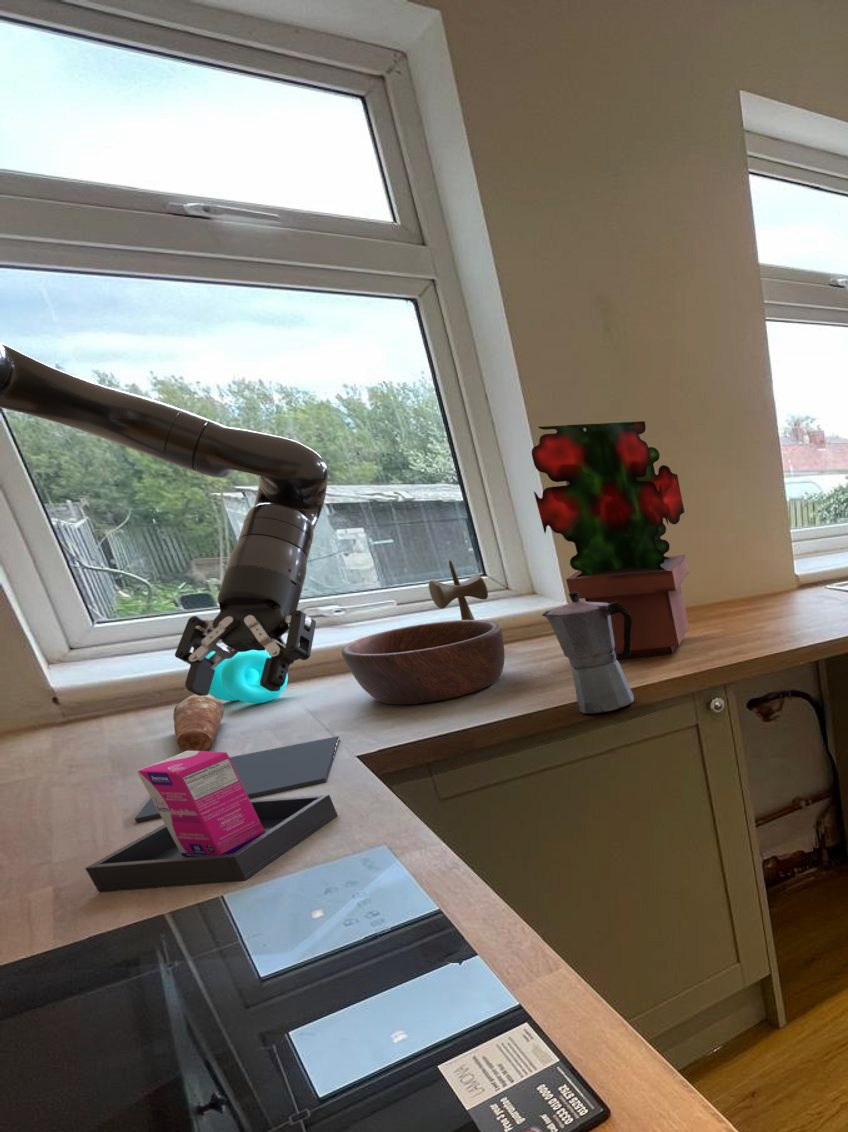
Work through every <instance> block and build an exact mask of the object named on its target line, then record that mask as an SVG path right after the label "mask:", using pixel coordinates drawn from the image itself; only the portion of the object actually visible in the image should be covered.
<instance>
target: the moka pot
mask: <svg viewBox="0 0 848 1132" xmlns="http://www.w3.org/2000/svg"><path fill="white" fill-rule="evenodd" d="M568 596H569V599H570V600H571V602H569V603H567V604H564V605H561V606H558V607H553V608H550V609H548V610H545V611H544V612H543V613H542V614H541V615H542V617H545V618H546V619H547V620H548V622H549V624H550V627H551V628H552V630H553V633H554V635H555V637H556V639H557V641H558V644H559V646H560V648H561V650H562V652H563V654H564V657H566V658H567V659H568V661H569V663H570V664H569V665H570V667H572V679H573V684H574V690H575V695H576V703H577V707H578V711H579V712H580V713H582V714H586V715H587V714H588V715H592V714H602V713H607V712H612V711H616V710H618V709H621V708H624V707H626V706H628V705H631V704H633V702H634V701H635V696H634V694H633V691H632V689H631V686H630V685H629V683H628V680H627V678H626V676H625V674H624V671H623V669H622V666H621V664H620V661H619V660H617V659H616V657H618V658H619V659H624V658H623V657H627V656H630V646H631V644H630V641H631V629H632V627H631V626H632V620H631V614H630V613H629V612H627V610H626V609H625V608H623V607H621V605H620V604H618V602H613V603H611V604H608V603H602V602H586V601H583V600H581V599H579V592H571V593H569V592H568ZM616 613H621V614H622V615H623V616H624V642H625V643H624V647H623V650H624V651H623V652H617V653H616V654H615V651H614V647H615V642H614V635H613V629H612V623H611V616H610V615H614V614H616Z"/></svg>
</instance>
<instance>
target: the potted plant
mask: <svg viewBox="0 0 848 1132" xmlns="http://www.w3.org/2000/svg"><path fill="white" fill-rule="evenodd" d="M537 428H538V429H540V430H544V431H547V430H555V431H556V432H554V433H544V434H542V435H540V436H539V441H538V442H539V443H538V444H537V445H534V447H532V448H531V458H532V461H533V465H534V467H535V469H536V470H537V471H538V472H539V473H543V474H546V475H547V477H548V478H549V480H550V481H552V482H555V483H563V482H565V483H566V484H565V485H557V486H548V487H545V488H544V489H543V491H542V496H541V498H540V497H539V495H538V494H537V492H536V491H533V494H534V498H535V503H536V506H537V508H538V513H539V517H540V521H541V525H542V529H543V532H544V534H546V533H547V527H550V529H551V531H552V532H553V533H554V534H559V535H562V537H563V538H564V540H565V541H566V542H569V543H574V547H575V550H576V554H575V555H573V556H572V557H570V560H569V565H570V567H571V568H572V570H574V571H576V572H574V573H573V574H571V575H570V576H569V577H568V578H565V580H566V584H567V589H568V594H569V593H571V592H579V600H581V599H582V600H583V599H584V600H585V602H602V603H608V604H611V603H613V602H618V604H620V605H621V607H623V608H625V609H626V610H627V612H629V613H630V614H631V620H632V626H631V627H632V629H631V641H630V644H631V646H630V656H627V657H623V658H622V659H628V658H638V657H639V658H640V657H649V656H659V655H669V654H673V653H674V651H675V650H676V648H677V647H679V646H680V645H681V643H682V641H683V639H684V638H685V636H686V634H687V632H688V630H689V628H690V625H689V619H688V616H687V610H686V606H685V600H684V595H683V590H682V586H681V585H682V583H683V582H684V580H685V579H686V578H687V576H688V575H689V574H690V571H689V565H688V561H687V556H686V554H680V555H666V556H665V554H666V553H668V552H669V551H670V549H671V548H670V542H669V541H668V540H666V539H662V537H663V536H664V535H665V534H666V532H667V526H666V525H668V526H669V525H677V524H679V522H680V521H681V520H680V519H681V518H680V517H681V515H683V514H684V513H685V508H684V502H683V498H682V492H681V487H680V482H679V476H678V474H676V473H675V472H674V473H673V472H672V470H671V468H670V467H669V466H668V465H665V464H662V465H661V466H659V468H658V473H656V471H655V465H654V464H655V463H656V462H658V461H659V460H660V457H661V456H660V455H661V454H660V452H659V450H658V449H657V448H656V447H653V446H649V445H648V443H647V442H646V441H645V440H643V439H642V438H641V437H640V435H642V434H644V433H645V432H646V422H645V421H644V420H643V421H622V422H621V421H620V422H604V423H581V424H567V425H565V424H563V425H546V426H544V425H543V426H537ZM584 429H586V430H584ZM664 519H665V522H666V525H665V523H664ZM610 616H611V623H612V629H613V635H614V642H615V647H614V651H615V654H616V653H617V652H623V651H624V650H623V647H624V643H625V642H624V616H623V615H622V614H621V613H616V614H614V615H610ZM617 659H618V660H619V659H620V658H618V657H616V660H617Z"/></svg>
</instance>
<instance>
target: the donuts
mask: <svg viewBox="0 0 848 1132" xmlns="http://www.w3.org/2000/svg"><path fill="white" fill-rule="evenodd" d="M226 647H227V646H224V647H222V648H226ZM213 654H215V652H214V651H212V652H211V653H209V654H208V655H207V656H206V657H205V658H207V659H209V658H210V657H211V656H212V655H213ZM266 658H271V656H270V655H269V654H268V652H267V651H266V650H264V651H257V650H250V651H246V652H238V653H237V654H236V655H234V656H233V657H232V658H230V659H224V660H223V661H222V662H221V663H220V664H219V665H218V666H216V667H215V668H214V670H215V673H214V676H213V680H212V683H211V686H210V690H209V693H208V694H210V695H212V696H214V697H215V698H216V699H218V700H220V701H228V702H234V701H235V702H237V701H240V702H243V703H247V704H257V705H258V704H264V703H268V702H271V701H273V700H275V699H277V698H279V696H281V694H283V692H284V691H285V690H286V688H287V685H288V682H289V681H288V680H289V675H288V672H287V675H286V678H285V683H284V684H283V686H281V688H280V690H279V691H269V690H268V689H266V688H264V687H262V686H261V685H260V680H261V676H262V673H263V669H264V665H265V662H266Z"/></svg>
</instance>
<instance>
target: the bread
mask: <svg viewBox="0 0 848 1132" xmlns="http://www.w3.org/2000/svg"><path fill="white" fill-rule="evenodd" d="M224 714H225V706H224V704H223V703H222V702H221V700H220V699H217V698H215V697H214V696H212V695H210V694H208V695H205V696H198V695H196V694H194V693H193V694H191V695H190V696H188V697H186V698H184V699H183V700H182V701H181V702H179V703H178V704H176V705H175V707H174V709H173V719H172V720H173V727H174V729H173V730H174V735H175V739H176V744H177V746H178V747H179V748H180V749H181V750H183V751H184V752H185V751H208V750H209V749H210V748H211V747H212V745H213V744H214V741H215V738H216V736H217V733H218V729H219V727H220V724H221V722H222V720H223V717H224Z"/></svg>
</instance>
